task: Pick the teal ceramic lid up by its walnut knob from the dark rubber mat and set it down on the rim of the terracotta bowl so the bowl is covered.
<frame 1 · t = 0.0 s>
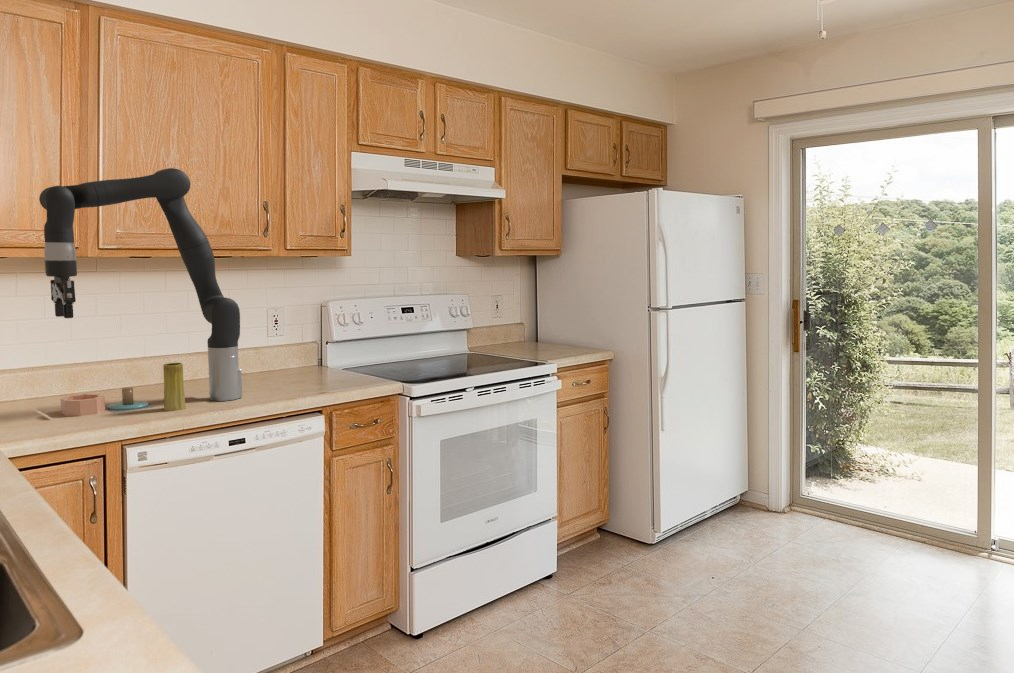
hand: (64, 317, 205), 29 cm above the worktop, fingers open, 8 cm apart
lid: (128, 406, 223), point 1 cm above the worktop, touching mat
vase: (175, 411, 221), on the worktop
bowl: (83, 413, 216), on the worktop
mat: (128, 408, 224), on the worktop
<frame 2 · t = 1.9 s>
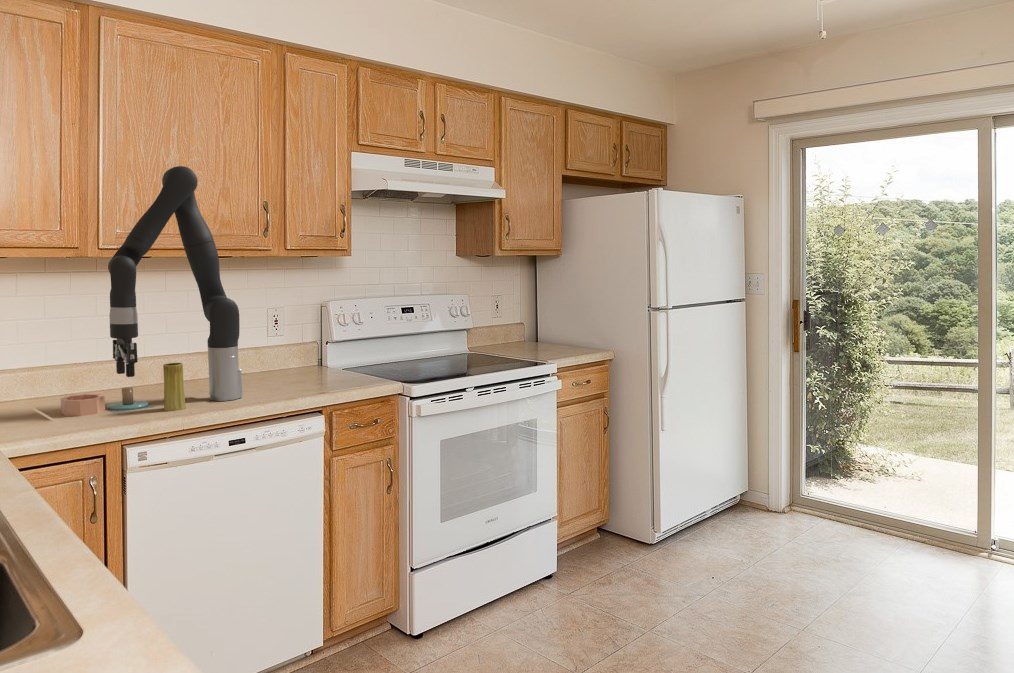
hand: (125, 375, 222), 10 cm above the worktop, fingers open, 8 cm apart
nothing on the worktop moved.
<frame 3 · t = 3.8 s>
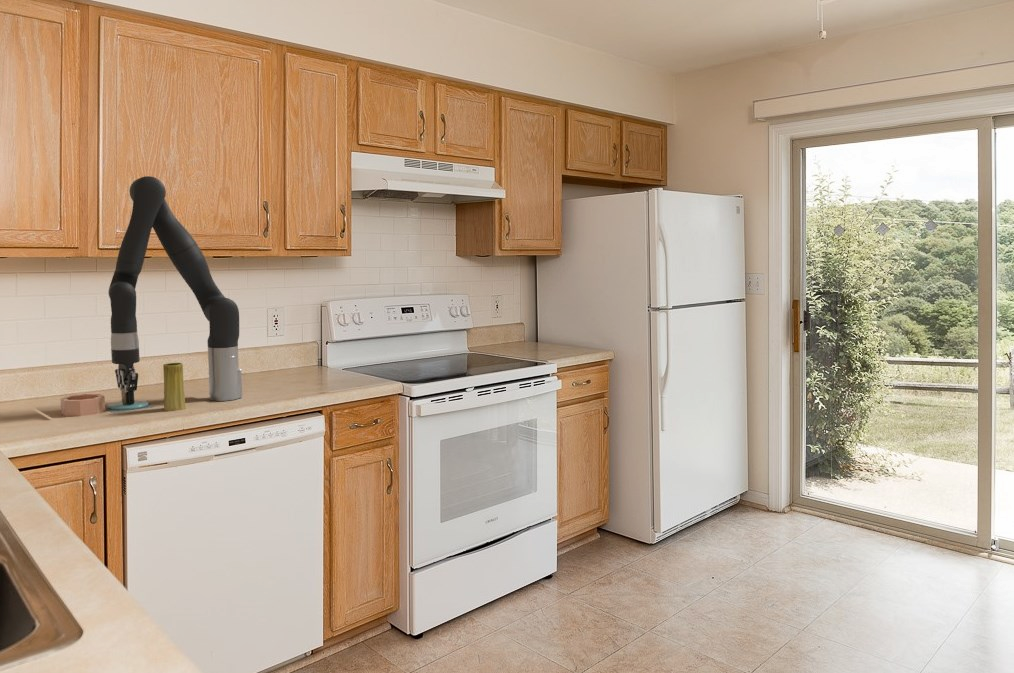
hand: (128, 403, 223), 2 cm above the worktop, fingers closed on lid, 3 cm apart
lid: (128, 406, 223), point 1 cm above the worktop, touching gripper, mat
everything else where it was.
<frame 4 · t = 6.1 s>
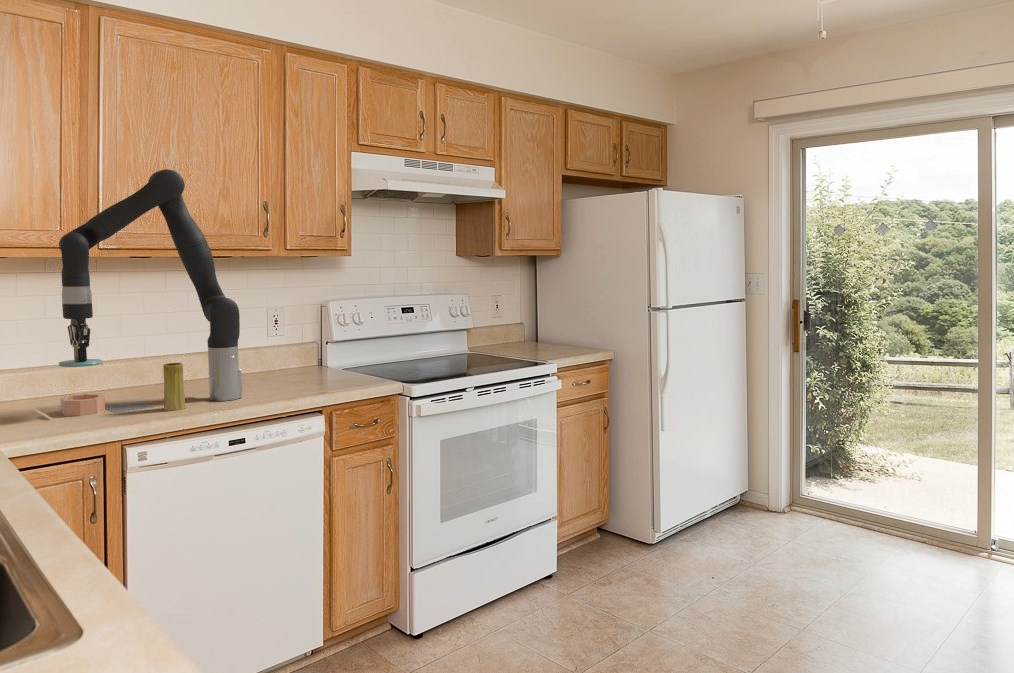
hand: (80, 360, 214), 16 cm above the worktop, fingers closed on lid, 3 cm apart
lid: (80, 364, 214), point 15 cm above the worktop, touching gripper
everything else where it was.
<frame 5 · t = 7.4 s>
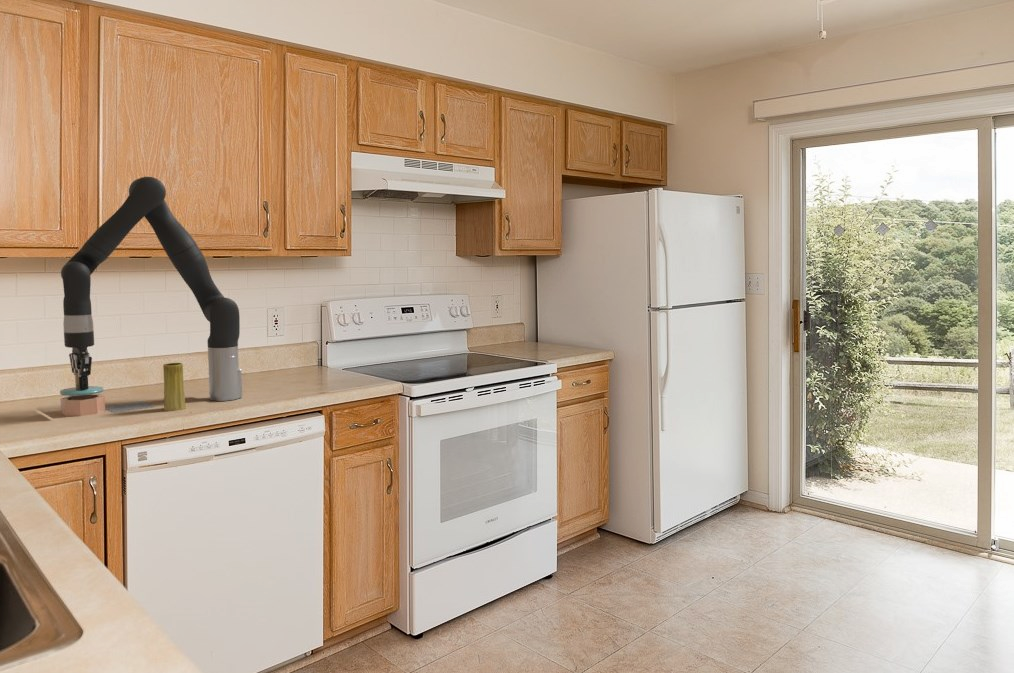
hand: (82, 388, 215), 8 cm above the worktop, fingers closed on lid, 3 cm apart
lid: (82, 392, 215), point 7 cm above the worktop, touching gripper
everything else where it was.
when the fingers open (7 cm above the worktop, at t = 8.3 s): lid stays where it is, resting on bowl.
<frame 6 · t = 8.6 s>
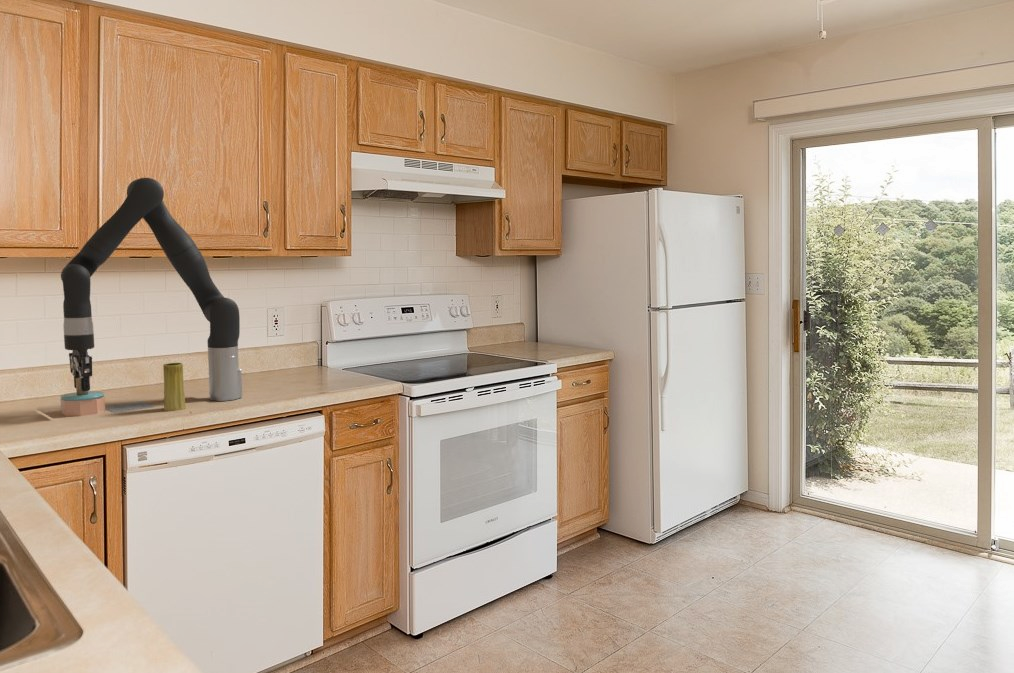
hand: (82, 389, 215), 7 cm above the worktop, fingers open, 6 cm apart
lid: (82, 397, 215), point 5 cm above the worktop, touching bowl
everything else where it was.
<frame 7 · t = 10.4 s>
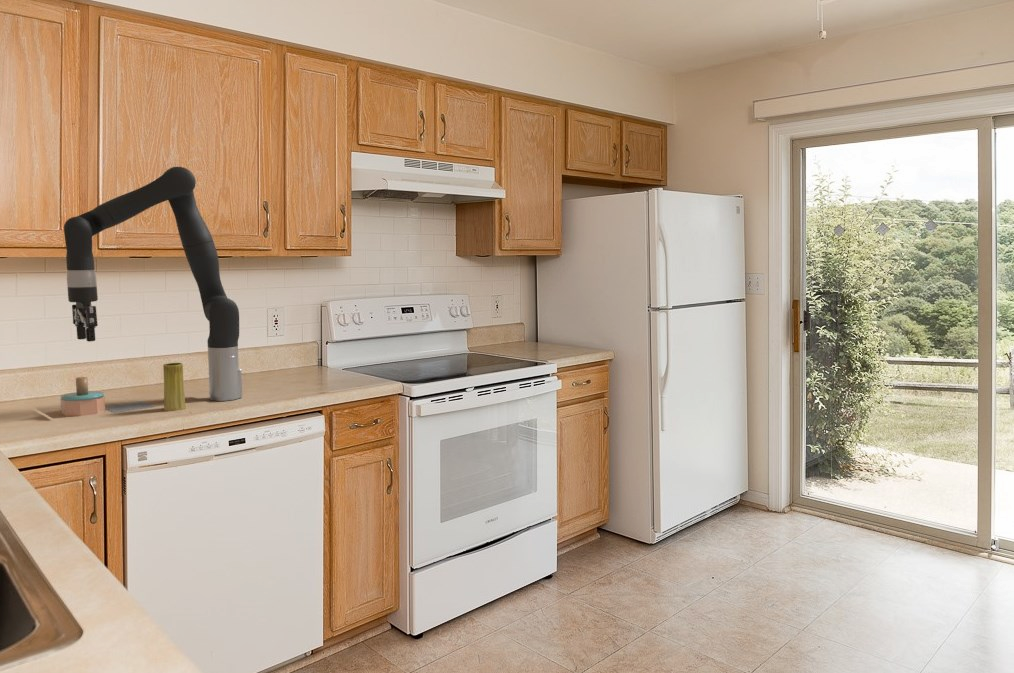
hand: (86, 340, 217), 22 cm above the worktop, fingers open, 8 cm apart
nothing on the worktop moved.
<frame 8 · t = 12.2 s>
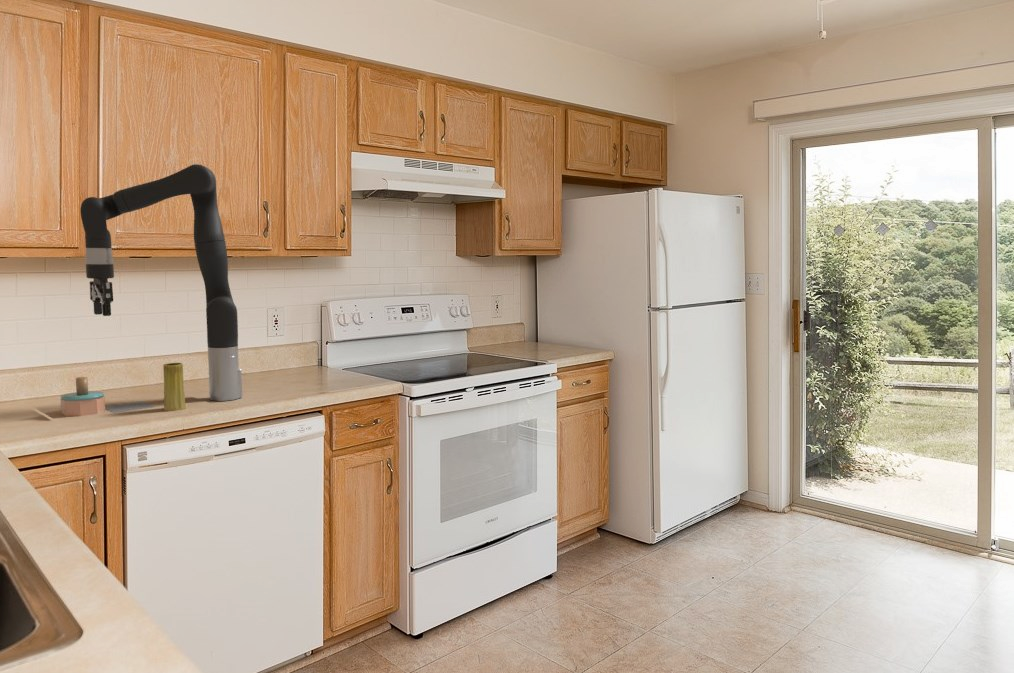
hand: (102, 315, 228), 28 cm above the worktop, fingers open, 8 cm apart
nothing on the worktop moved.
at the end: lid 0.0 cm off-centre on the bowl, point 5.0 cm above the bowl's base; lid tilted 0°; the gripper is holding nothing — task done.
